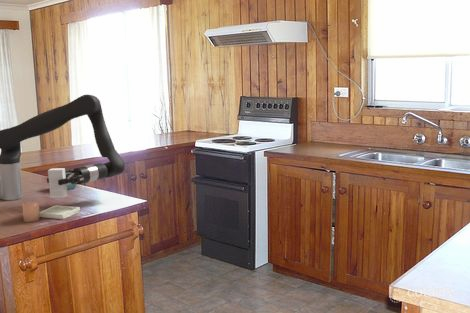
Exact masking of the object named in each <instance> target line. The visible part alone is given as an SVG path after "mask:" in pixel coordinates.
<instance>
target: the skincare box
mask: <svg viewBox="0 0 470 313" xmlns="http://www.w3.org/2000/svg"><path fill="white" fill-rule="evenodd" d="M65 170H66V168H65V167H63V168H62V167H60V168H56V167H55V168H50V169H47V175H48V176H47V178H49V183H48V185H49V186H48V187H49V195H50V196H49V197H50V199H64V198H66V197H68V190H67V185H66V184H63V185H58V180H60V179H65V178H66V175H65Z"/></svg>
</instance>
